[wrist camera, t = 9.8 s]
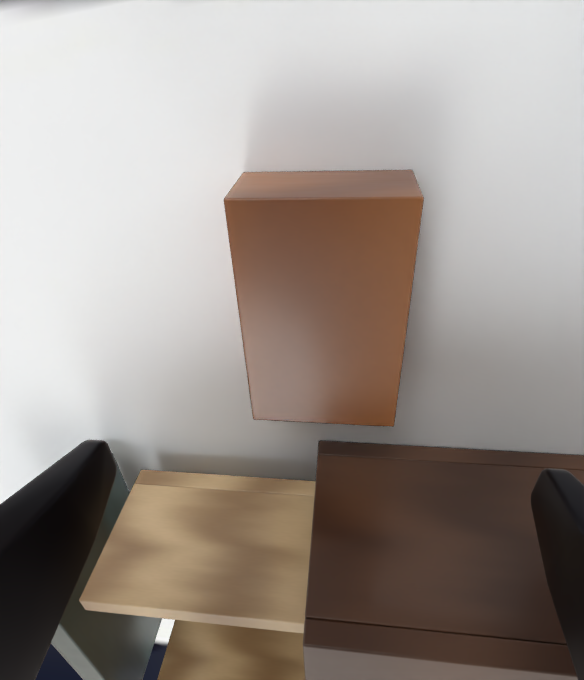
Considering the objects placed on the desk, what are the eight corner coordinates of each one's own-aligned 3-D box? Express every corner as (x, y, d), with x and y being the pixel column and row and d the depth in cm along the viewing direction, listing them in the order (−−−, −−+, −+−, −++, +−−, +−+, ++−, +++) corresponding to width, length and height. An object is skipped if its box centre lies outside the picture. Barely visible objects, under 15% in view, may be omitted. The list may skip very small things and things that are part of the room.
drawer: (82, 581, 29) (25, 699, 24) (-7, 444, 21) (-120, 577, 16) (364, 609, 27) (367, 745, 22) (380, 468, 19) (390, 630, 14)
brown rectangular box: (412, 169, 13) (424, 196, 11) (389, 380, 17) (393, 427, 15) (242, 171, 13) (222, 198, 11) (264, 375, 18) (252, 420, 16)
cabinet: (320, 593, 28) (311, 765, 22) (318, 440, 20) (302, 645, 13) (561, 617, 27) (629, 810, 20) (673, 459, 18) (855, 707, 12)
